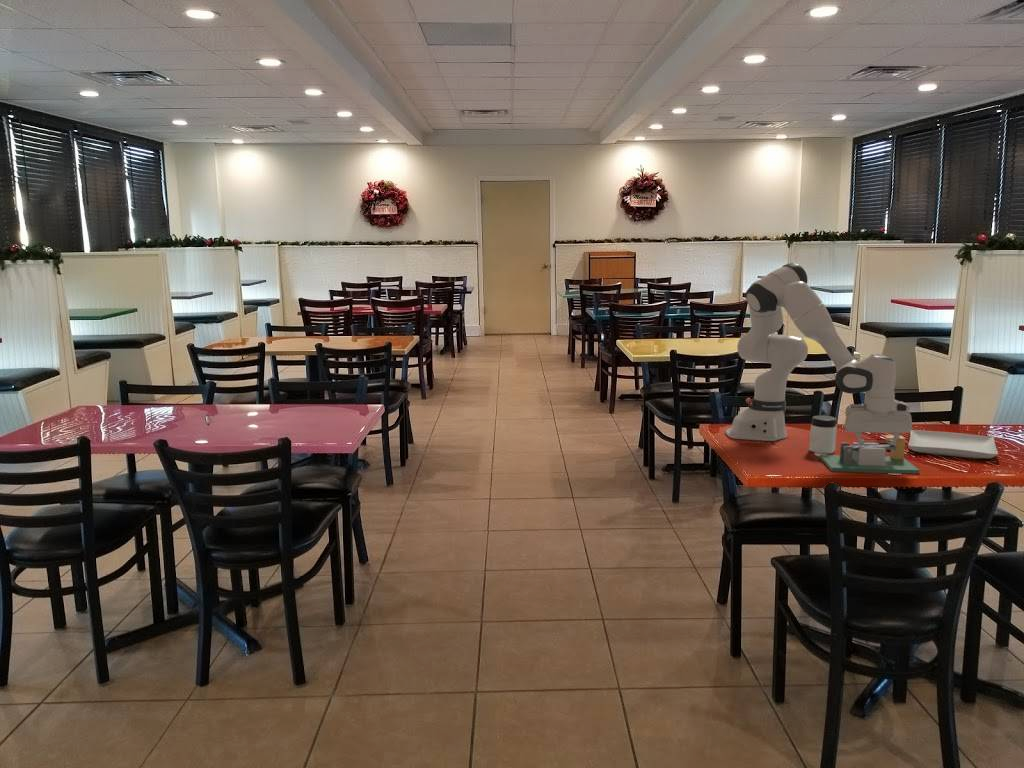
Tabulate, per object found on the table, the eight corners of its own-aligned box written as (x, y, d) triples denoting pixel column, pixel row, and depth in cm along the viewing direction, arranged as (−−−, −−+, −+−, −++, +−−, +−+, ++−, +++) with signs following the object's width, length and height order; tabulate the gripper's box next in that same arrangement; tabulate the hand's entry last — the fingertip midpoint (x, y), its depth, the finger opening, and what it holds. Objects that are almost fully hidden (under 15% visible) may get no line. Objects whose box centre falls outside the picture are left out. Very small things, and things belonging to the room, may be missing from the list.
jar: (840, 452, 280) (842, 419, 278) (823, 455, 277) (826, 421, 275) (820, 446, 288) (822, 414, 286) (804, 449, 285) (806, 416, 283)
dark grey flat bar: (844, 451, 262) (844, 448, 262) (842, 448, 265) (842, 445, 265) (895, 449, 260) (895, 446, 260) (892, 447, 263) (892, 444, 263)
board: (831, 471, 258) (833, 450, 256) (819, 458, 273) (820, 438, 272) (919, 473, 254) (921, 452, 253) (901, 460, 270) (903, 440, 269)
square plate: (992, 445, 289) (994, 435, 289) (997, 464, 266) (998, 453, 265) (910, 437, 302) (910, 427, 301) (907, 454, 278) (908, 444, 278)
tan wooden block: (885, 459, 267) (887, 438, 265) (881, 456, 271) (883, 435, 269) (903, 459, 266) (905, 438, 265) (899, 456, 270) (901, 435, 269)
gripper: (848, 405, 258) (846, 447, 260) (915, 406, 255) (912, 448, 258) (843, 402, 264) (841, 442, 266) (908, 402, 261) (905, 443, 264)
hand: (876, 445), depth 262 cm, fingers open, 8 cm apart
